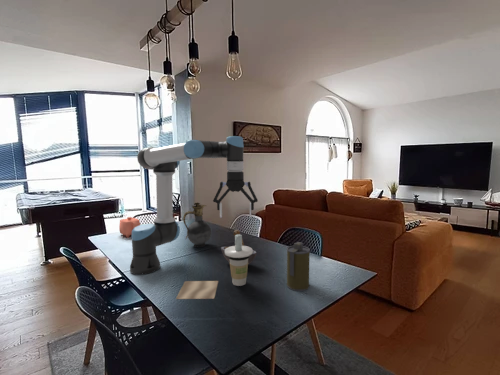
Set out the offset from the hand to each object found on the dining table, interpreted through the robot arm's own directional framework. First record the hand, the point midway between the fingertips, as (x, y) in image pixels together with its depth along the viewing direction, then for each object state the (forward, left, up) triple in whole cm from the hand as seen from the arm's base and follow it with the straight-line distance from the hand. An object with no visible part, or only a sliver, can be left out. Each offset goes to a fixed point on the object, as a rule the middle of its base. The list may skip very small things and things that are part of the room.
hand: (235, 217), depth 122 cm
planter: (0, +21, -32) cm, 38 cm away
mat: (-17, -7, -32) cm, 36 cm away
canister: (+28, -4, -32) cm, 43 cm away
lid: (+1, -1, -17) cm, 17 cm away
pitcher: (-29, +53, -32) cm, 68 cm away
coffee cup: (+1, -1, -32) cm, 32 cm away
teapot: (-87, +82, -32) cm, 124 cm away
